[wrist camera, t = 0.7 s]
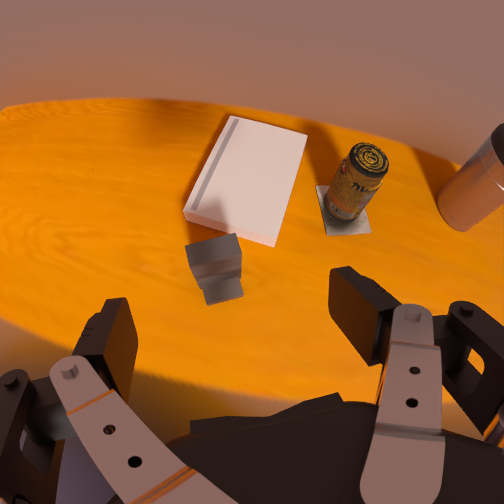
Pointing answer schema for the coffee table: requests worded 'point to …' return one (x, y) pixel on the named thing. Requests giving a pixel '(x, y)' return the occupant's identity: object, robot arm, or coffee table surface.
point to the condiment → (352, 190)
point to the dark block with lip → (217, 267)
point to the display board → (247, 180)
